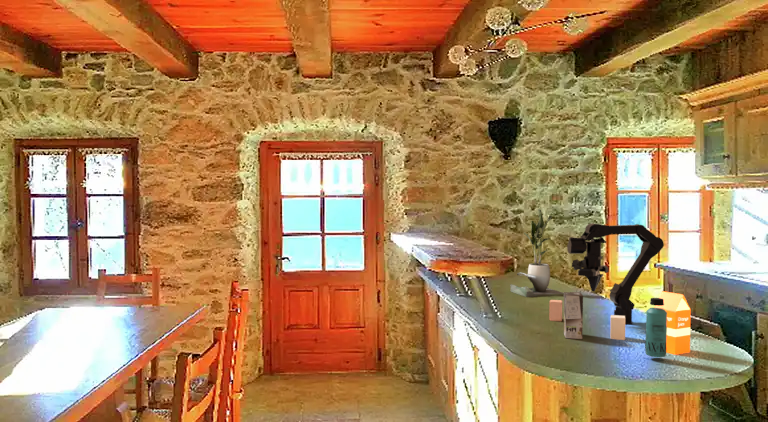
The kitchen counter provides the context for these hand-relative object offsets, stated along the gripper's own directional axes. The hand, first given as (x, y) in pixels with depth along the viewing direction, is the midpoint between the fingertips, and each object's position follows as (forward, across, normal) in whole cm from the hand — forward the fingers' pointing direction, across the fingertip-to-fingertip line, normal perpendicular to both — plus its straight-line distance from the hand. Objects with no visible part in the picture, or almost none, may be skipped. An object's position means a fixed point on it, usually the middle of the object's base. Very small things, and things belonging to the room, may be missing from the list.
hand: (593, 291), depth 265 cm
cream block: (+13, +21, +17) cm, 30 cm away
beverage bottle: (+13, +44, +37) cm, 59 cm away
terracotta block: (+13, +4, -14) cm, 20 cm away
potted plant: (+13, -55, -51) cm, 76 cm away
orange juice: (+13, +29, +38) cm, 50 cm away
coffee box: (+13, +29, +3) cm, 32 cm away
